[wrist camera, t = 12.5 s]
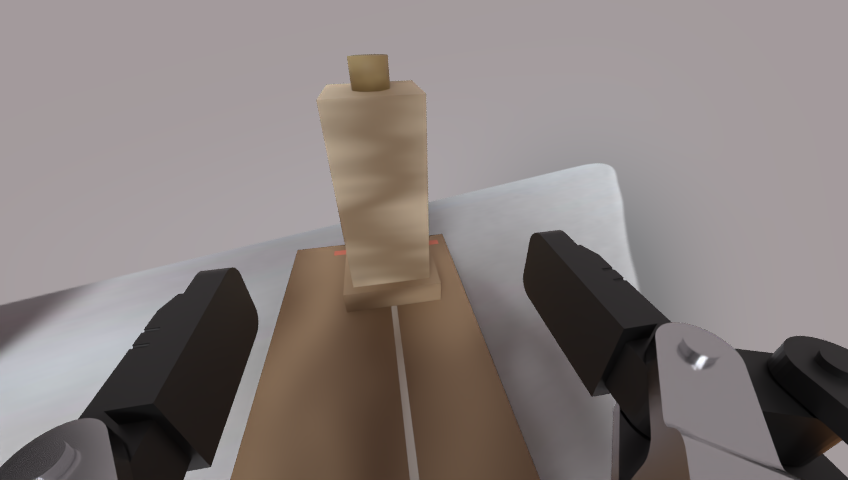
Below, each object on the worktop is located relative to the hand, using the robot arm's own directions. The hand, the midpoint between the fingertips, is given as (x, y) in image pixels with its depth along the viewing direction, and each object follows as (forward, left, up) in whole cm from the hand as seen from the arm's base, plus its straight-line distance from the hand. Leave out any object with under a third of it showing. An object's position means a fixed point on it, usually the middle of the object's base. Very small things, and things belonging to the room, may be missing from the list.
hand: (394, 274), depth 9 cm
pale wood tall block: (0, +8, -6) cm, 10 cm away
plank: (-1, +3, -8) cm, 9 cm away
